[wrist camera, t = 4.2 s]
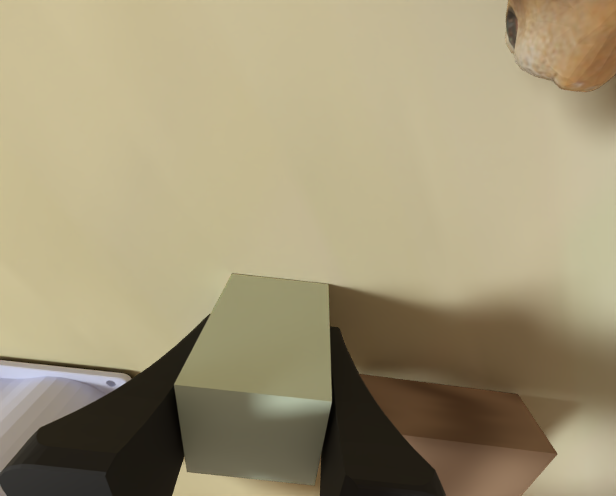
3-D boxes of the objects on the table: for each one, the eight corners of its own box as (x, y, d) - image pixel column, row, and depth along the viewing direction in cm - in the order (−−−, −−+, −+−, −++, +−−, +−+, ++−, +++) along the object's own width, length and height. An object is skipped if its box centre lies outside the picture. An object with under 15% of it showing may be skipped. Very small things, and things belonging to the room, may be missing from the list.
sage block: (233, 345, 16) (186, 471, 10) (231, 273, 14) (174, 384, 8) (317, 354, 16) (314, 485, 10) (328, 284, 14) (331, 401, 8)
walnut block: (331, 459, 21) (332, 523, 18) (357, 368, 17) (365, 430, 14) (457, 474, 21) (481, 540, 18) (513, 388, 17) (557, 454, 14)
